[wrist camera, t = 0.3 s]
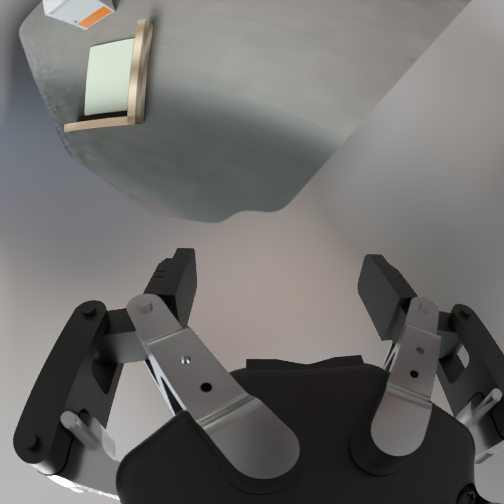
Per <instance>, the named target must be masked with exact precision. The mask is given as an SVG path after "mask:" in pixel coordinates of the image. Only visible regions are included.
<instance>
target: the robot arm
mask: <svg viewBox="0 0 504 504" xmlns="http://www.w3.org/2000/svg"><path fill="white" fill-rule="evenodd" d="M196 288H197V273H196V260H195V250H194V249H193V248H178V249H177V250H176V252H175V254H174V256H173V258H166V259H165V260H164V261H162V262H161V263H159V265H158V266H157V268H156V270H155V272H154V274H153V276H152V278H151V279H150V281H149V283H148V285H147V287H146V289H145V291H144V293H143V294H141V295H138V296H136V297H134V298H132V299H131V300H130V301H129V302H128V304H127V306H126V308H124V309H118V310H110V311H107V309H106V306H105V305H104V303H102V302H101V301H96V300H92V301H87V302H84V303H82V304H81V305H79V306H78V307H77V308H76V309H75V310H74V312H73V314H72V315H71V317H70V319H69V320H68V322H67V324H66V325H65V327H64V329H63V331H62V332H61V334H60V336H59V338H58V339H57V341H56V343H55V345H54V347H53V349H52V350H51V352H50V354H49V356H48V358H47V360H46V362H45V364H44V366H43V368H42V370H41V372H40V374H39V376H38V378H37V380H36V383H35V385H34V387H33V389H32V391H31V394H30V396H29V398H28V400H27V403H26V405H25V407H24V410H23V412H22V415H21V417H20V420H19V422H18V426H17V428H16V431H15V433H14V437H13V444H14V448H15V451H16V453H17V455H18V456H19V457H20V458H21V459H22V460H23V461H24V462H26V463H27V464H29V465H30V466H32V467H33V468H35V469H36V470H37V471H38V472H39V473H41V474H42V475H44V476H46V477H47V478H49V479H51V480H53V481H54V482H56V483H58V484H60V485H62V486H65V487H67V488H69V489H71V490H73V491H75V492H86V491H91V492H94V493H97V494H100V495H104V496H107V497H110V498H115V499H118V500H120V502H121V504H500V503H492V502H489V501H487V500H485V499H483V498H482V497H481V496H480V495H479V494H478V492H477V490H476V487H475V482H474V463H476V464H479V463H482V462H483V461H485V460H486V459H488V458H489V457H491V456H492V455H493V454H495V453H496V452H497V451H499V450H500V449H501V448H502V447H504V355H503V353H502V351H501V350H500V348H499V347H498V345H497V344H496V342H495V341H494V339H493V338H492V336H491V335H490V333H489V332H488V330H487V329H486V327H485V326H484V324H483V323H482V322H481V320H480V319H479V318H478V316H477V315H476V313H475V312H474V311H473V310H472V309H471V308H469V307H468V306H466V305H462V304H456V305H455V306H454V307H453V309H452V311H451V313H446V312H441V311H439V309H438V306H437V305H436V304H435V303H434V302H433V301H431V300H430V299H428V298H425V297H418V296H417V295H416V293H415V292H414V290H413V289H412V288H411V286H410V285H409V284H408V283H407V281H406V280H405V279H404V278H403V276H402V275H401V274H400V272H399V271H398V270H397V269H396V268H394V267H393V266H391V265H390V264H389V263H388V262H387V261H386V259H385V258H384V257H383V256H382V255H378V254H377V255H376V254H367V255H366V256H365V258H364V262H363V266H362V269H361V273H360V277H359V281H358V293H359V295H360V297H361V299H362V301H363V303H364V305H365V307H366V309H367V311H368V313H369V315H370V317H371V319H372V321H373V323H374V326H375V328H376V330H377V332H378V334H379V336H380V338H381V340H382V341H384V340H392V341H393V342H392V344H391V346H390V348H389V351H388V354H387V356H386V359H385V361H384V364H383V366H382V368H380V367H378V366H375V365H371V364H366V363H364V362H363V360H362V357H361V355H356V356H345V357H334V358H331V359H327V360H324V361H320V362H317V363H313V364H300V363H294V362H288V361H282V360H277V359H247V360H246V361H247V362H246V368H242V369H238V370H234V371H232V372H229V373H228V372H227V371H226V369H225V368H224V367H223V366H222V365H221V364H220V362H219V361H218V360H217V359H216V358H215V357H214V356H213V354H212V353H211V352H210V351H209V350H208V348H207V347H206V346H205V345H204V344H203V342H202V341H201V340H200V339H199V337H198V336H197V335H196V334H195V332H194V331H193V330H192V329H191V328H190V327H189V326H187V324H188V320H189V316H190V312H191V308H192V304H193V301H194V297H195V293H196ZM462 345H464V347H465V348H466V350H467V352H468V354H469V358H470V359H469V364H468V366H467V367H466V369H465V368H464V366H463V364H462V362H461V360H460V358H459V356H458V355H457V353H458V352H459V350H460V348H461V347H462ZM136 361H144V363H145V365H146V366H147V369H148V370H149V372H150V374H151V376H152V378H153V379H154V381H155V383H156V385H157V386H158V388H159V390H160V391H161V393H162V395H163V397H164V399H165V401H166V403H167V405H168V407H169V409H170V410H171V412H172V414H173V415H174V417H173V418H171V419H170V420H169V421H168V422H167V423H165V424H164V425H163V426H162V427H160V428H159V429H158V430H157V431H156V432H154V433H153V434H152V435H151V436H149V437H148V438H147V439H145V440H144V441H143V442H142V443H141V444H139V445H138V446H136V447H135V448H134V449H132V450H131V451H130V452H129V453H128V454H127V455H126V456H125V457H124V458H123V460H122V461H121V462H118V461H117V459H116V455H115V443H114V440H113V438H112V437H111V435H110V434H109V433H108V432H107V431H106V426H107V422H108V418H109V414H110V410H111V406H112V403H113V399H114V396H115V392H116V389H117V385H118V382H119V379H120V375H121V372H122V369H123V366H124V363H129V362H136ZM436 374H437V376H438V378H439V381H440V383H441V385H442V388H443V390H444V392H445V395H446V397H447V400H448V402H449V405H450V407H451V410H452V412H453V415H454V417H453V416H451V415H450V414H448V413H447V412H445V411H444V410H442V409H441V408H440V407H438V406H436V405H435V404H434V403H432V402H431V401H430V399H431V394H432V390H433V385H434V380H435V375H436Z"/></svg>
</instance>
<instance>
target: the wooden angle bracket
mask: <svg viewBox="0 0 504 504" xmlns="http://www.w3.org/2000/svg"><path fill="white" fill-rule="evenodd" d="M153 27H154V26H153V25H152V24H151V23H150V22H149V21H148V20H146V19H143V20H138V23H137V28H136V34H135V41H134V47H133V55H132V63H131V72H130V82H129V95H128V111H127V117H116V118H106V119H98V120H90V121H83V122H76V123H70V124H64V132H67V131H74V130H81V129H88V128H97V127H106V126H117V125H131V124H142V123H144V108H145V93H146V81H147V71H148V62H149V54H150V46H151V39H152V33H153Z"/></svg>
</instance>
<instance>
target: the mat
mask: <svg viewBox="0 0 504 504" xmlns="http://www.w3.org/2000/svg"><path fill="white" fill-rule="evenodd" d="M134 41H135V38H133V39H127V40H122V41H116V42H112V43H107V44H102V45H98V46H94V47H91V49H90V56H89V64H88V72H87V83H86V96H85V115H92V114H100V113H108V112H117V111H127V110H128V95H129V82H130V72H131V63H132V55H133V47H134Z"/></svg>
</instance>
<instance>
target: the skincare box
mask: <svg viewBox="0 0 504 504" xmlns="http://www.w3.org/2000/svg"><path fill="white" fill-rule="evenodd" d="M43 4H44V11H45V15H47V16H50V17H53V18H56V19H59V20H61V21H64V22H67V23H70V24H72V25H75V26H77V27H80V28H83V29H85V30H87V29H88V28H89V27H91V26H92V25H94V24H95V23H97V22H98V21H100V20H101V19H103V18H105V17H106V16H108V15H109V14H111V13H113V12H115V8H114V6H113V3H112V0H43Z"/></svg>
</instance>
